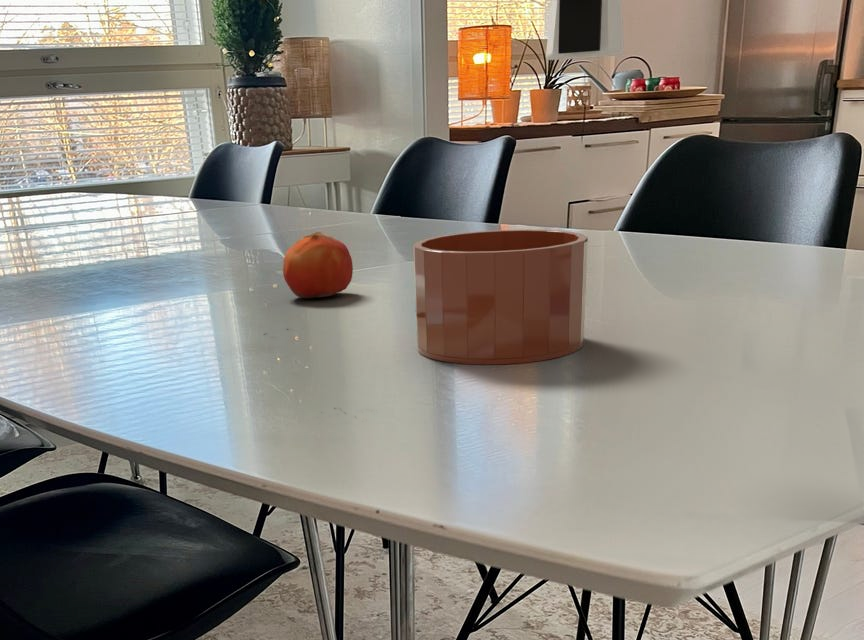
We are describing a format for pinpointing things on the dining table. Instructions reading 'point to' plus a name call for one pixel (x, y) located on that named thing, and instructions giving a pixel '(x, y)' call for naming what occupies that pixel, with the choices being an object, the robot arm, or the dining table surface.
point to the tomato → (317, 266)
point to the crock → (500, 295)
